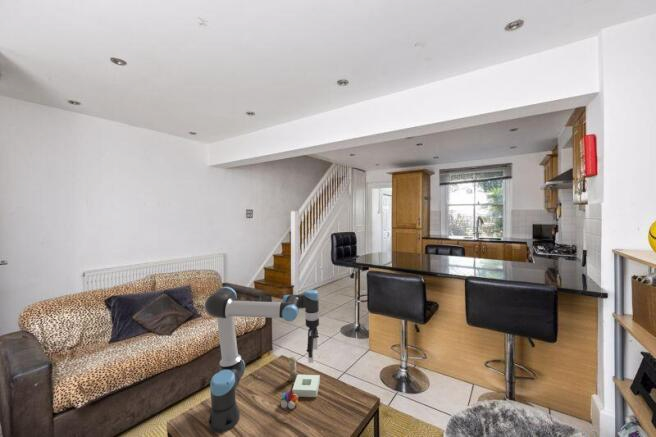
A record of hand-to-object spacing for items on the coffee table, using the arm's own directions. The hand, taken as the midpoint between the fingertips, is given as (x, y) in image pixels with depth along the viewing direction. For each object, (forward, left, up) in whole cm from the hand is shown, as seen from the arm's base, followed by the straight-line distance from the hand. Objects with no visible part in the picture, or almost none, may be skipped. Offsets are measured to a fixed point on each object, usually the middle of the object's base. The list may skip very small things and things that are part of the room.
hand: (313, 355), depth 154 cm
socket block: (-6, +9, -25) cm, 27 cm away
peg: (-16, +17, -25) cm, 34 cm away
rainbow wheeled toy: (-13, -5, -26) cm, 29 cm away
